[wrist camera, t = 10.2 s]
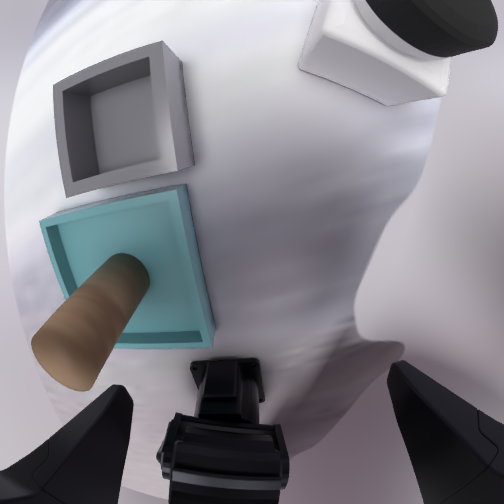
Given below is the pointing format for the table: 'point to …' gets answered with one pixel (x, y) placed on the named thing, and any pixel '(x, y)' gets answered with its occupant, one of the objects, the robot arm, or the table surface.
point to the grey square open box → (122, 120)
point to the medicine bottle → (395, 44)
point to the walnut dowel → (91, 322)
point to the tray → (149, 253)
